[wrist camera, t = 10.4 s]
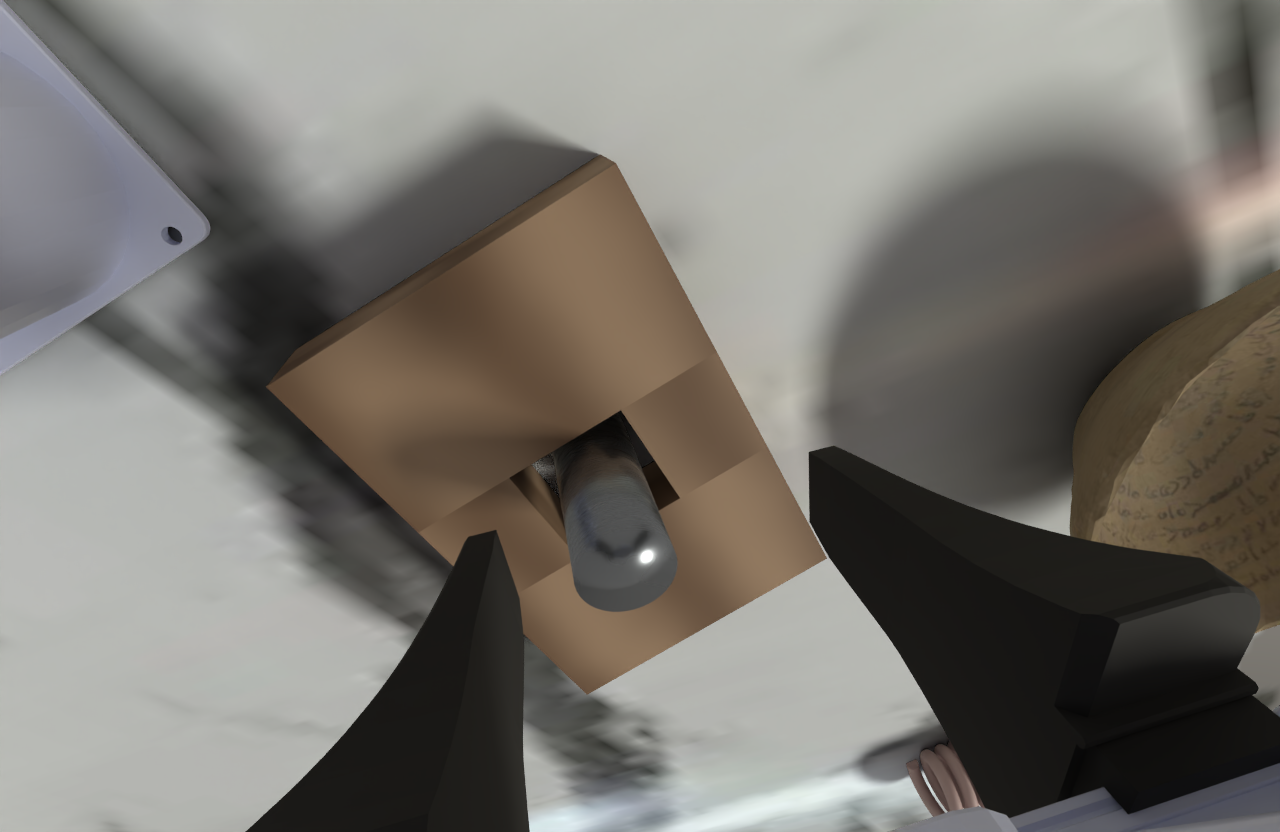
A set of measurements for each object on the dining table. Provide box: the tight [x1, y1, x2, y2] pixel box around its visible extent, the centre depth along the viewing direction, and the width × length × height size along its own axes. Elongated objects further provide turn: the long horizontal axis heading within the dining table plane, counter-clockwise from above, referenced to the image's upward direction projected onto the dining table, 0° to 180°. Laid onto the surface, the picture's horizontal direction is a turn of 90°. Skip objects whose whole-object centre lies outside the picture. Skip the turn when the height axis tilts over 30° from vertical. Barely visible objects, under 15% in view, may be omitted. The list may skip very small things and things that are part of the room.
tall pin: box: [552, 413, 678, 612], centre depth 21 cm, size 3×3×8 cm
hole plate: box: [266, 155, 827, 694], centre depth 23 cm, size 12×18×3 cm, turn 29°
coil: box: [906, 741, 985, 817], centre depth 39 cm, size 5×5×18 cm
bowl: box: [1070, 269, 1280, 633], centre depth 26 cm, size 18×18×8 cm
